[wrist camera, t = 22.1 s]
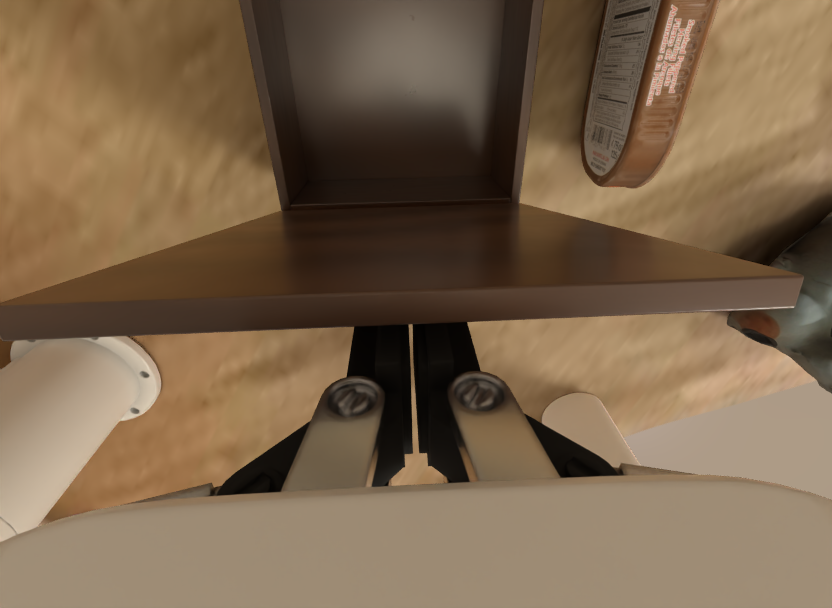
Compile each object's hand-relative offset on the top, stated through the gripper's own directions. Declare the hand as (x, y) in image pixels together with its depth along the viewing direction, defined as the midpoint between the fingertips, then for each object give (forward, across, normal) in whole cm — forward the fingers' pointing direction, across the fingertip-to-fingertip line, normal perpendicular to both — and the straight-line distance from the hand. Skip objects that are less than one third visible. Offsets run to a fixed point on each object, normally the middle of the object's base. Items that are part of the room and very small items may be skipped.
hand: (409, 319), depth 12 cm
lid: (+5, 0, -1) cm, 5 cm away
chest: (+21, 0, -8) cm, 22 cm away
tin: (+21, -14, -7) cm, 27 cm away
